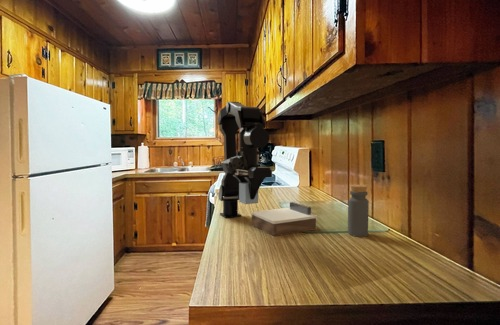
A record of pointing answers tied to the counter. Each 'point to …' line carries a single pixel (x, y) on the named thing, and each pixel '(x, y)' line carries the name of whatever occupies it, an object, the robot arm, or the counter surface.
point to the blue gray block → (246, 194)
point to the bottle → (358, 211)
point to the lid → (286, 214)
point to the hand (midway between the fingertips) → (248, 198)
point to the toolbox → (284, 226)
